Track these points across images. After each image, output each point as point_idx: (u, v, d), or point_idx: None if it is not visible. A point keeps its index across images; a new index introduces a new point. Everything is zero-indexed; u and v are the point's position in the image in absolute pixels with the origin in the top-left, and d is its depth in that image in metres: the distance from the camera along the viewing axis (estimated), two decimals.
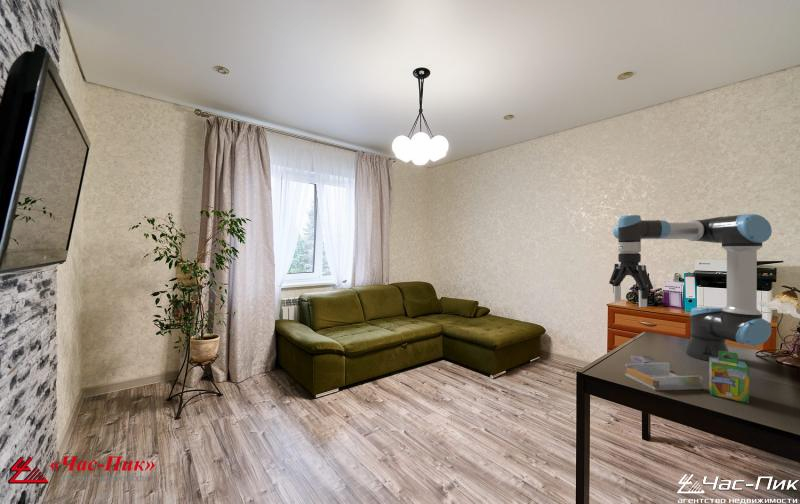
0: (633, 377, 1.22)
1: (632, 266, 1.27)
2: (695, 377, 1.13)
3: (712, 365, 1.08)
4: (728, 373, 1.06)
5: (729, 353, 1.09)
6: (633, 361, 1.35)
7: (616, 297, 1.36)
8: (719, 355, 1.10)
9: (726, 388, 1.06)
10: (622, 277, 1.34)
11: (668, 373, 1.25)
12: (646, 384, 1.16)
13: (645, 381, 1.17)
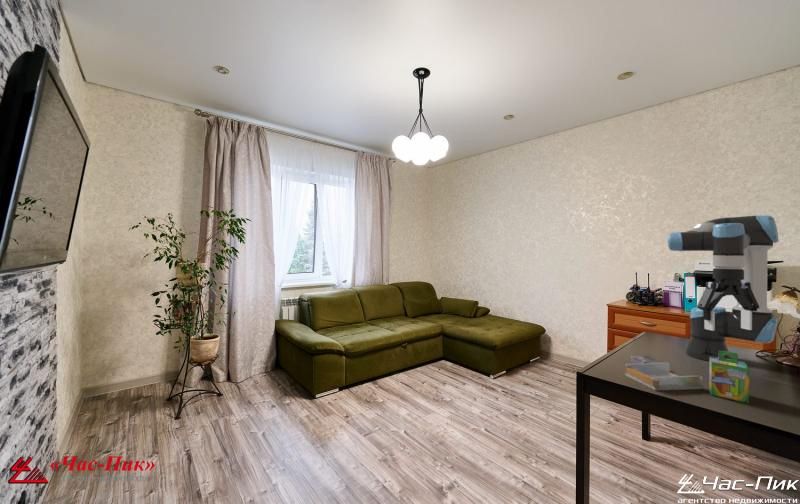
0: (633, 377, 1.22)
1: None
2: (695, 377, 1.13)
3: (712, 365, 1.08)
4: (728, 373, 1.06)
5: (729, 353, 1.09)
6: (632, 361, 1.35)
7: (743, 323, 1.10)
8: (719, 355, 1.10)
9: (726, 388, 1.06)
10: (739, 298, 1.08)
11: (668, 373, 1.25)
12: (646, 384, 1.16)
13: (645, 381, 1.17)
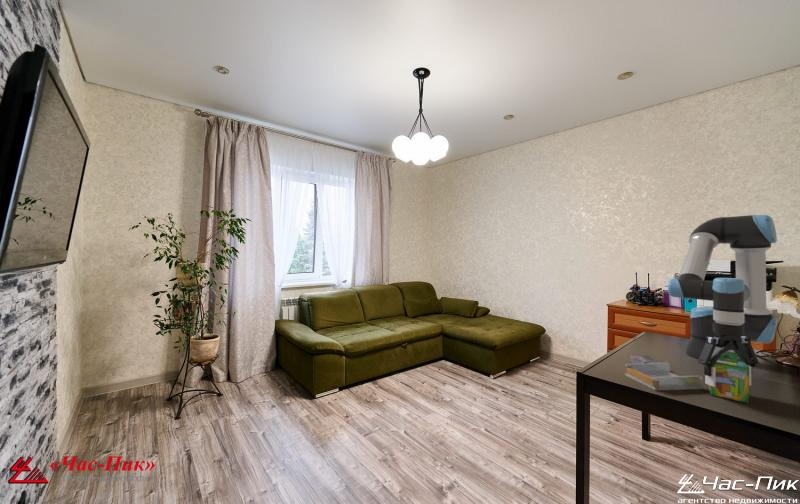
0: (633, 377, 1.22)
1: None
2: (695, 377, 1.13)
3: None
4: (728, 372, 1.06)
5: (729, 353, 1.09)
6: (632, 361, 1.35)
7: None
8: None
9: (725, 387, 1.06)
10: (739, 353, 1.09)
11: (668, 373, 1.25)
12: (646, 384, 1.16)
13: (645, 381, 1.17)
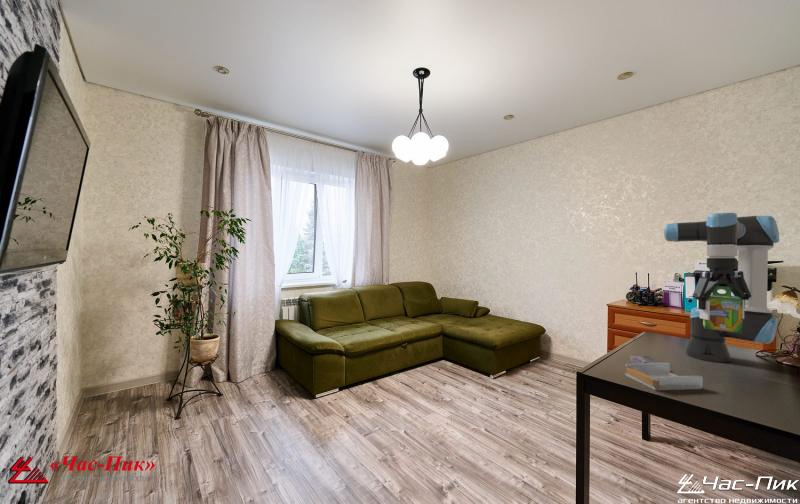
0: (633, 377, 1.22)
1: None
2: (695, 377, 1.13)
3: None
4: (722, 305, 1.07)
5: (723, 287, 1.10)
6: (632, 361, 1.35)
7: None
8: None
9: (719, 320, 1.07)
10: (732, 287, 1.10)
11: (668, 373, 1.25)
12: (646, 384, 1.16)
13: (645, 381, 1.17)
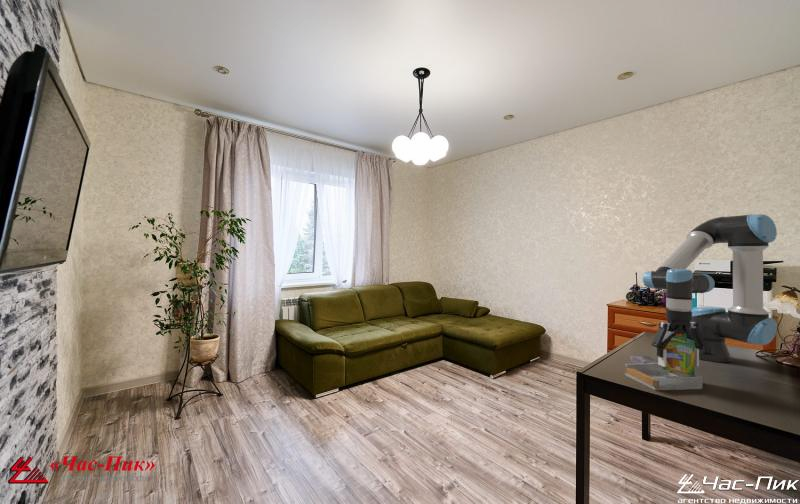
0: (633, 377, 1.22)
1: None
2: (695, 377, 1.13)
3: None
4: (677, 348, 1.17)
5: None
6: (632, 361, 1.35)
7: None
8: None
9: (675, 362, 1.18)
10: (688, 337, 1.20)
11: (668, 373, 1.25)
12: (646, 384, 1.16)
13: (645, 381, 1.17)
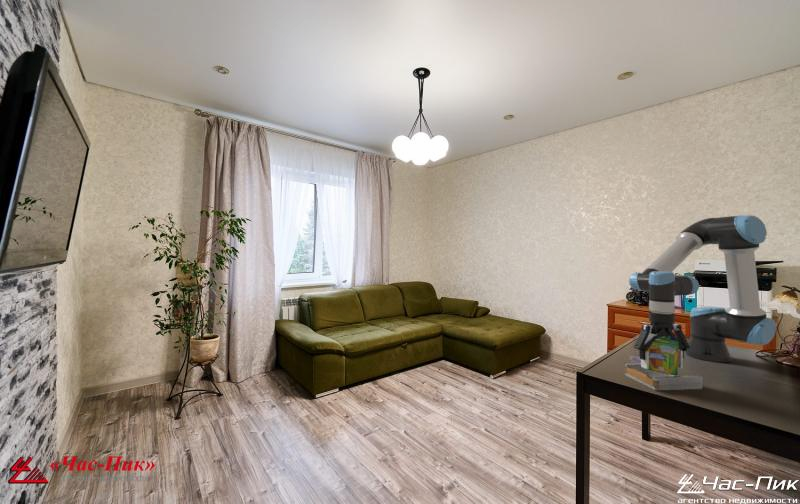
0: (633, 377, 1.22)
1: None
2: (695, 377, 1.13)
3: None
4: (661, 349, 1.17)
5: None
6: (632, 361, 1.35)
7: None
8: None
9: (659, 362, 1.17)
10: (672, 339, 1.20)
11: None
12: (646, 384, 1.16)
13: (645, 381, 1.17)
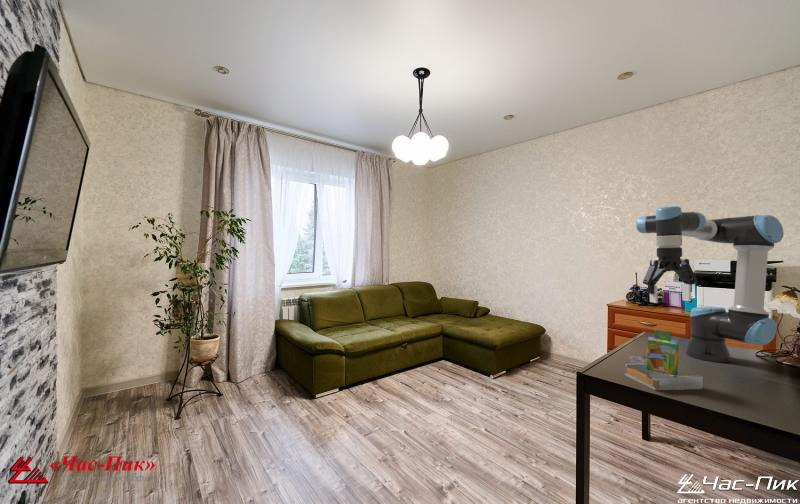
0: (633, 377, 1.22)
1: None
2: (695, 377, 1.13)
3: (648, 342, 1.19)
4: (661, 349, 1.17)
5: (664, 332, 1.20)
6: (631, 361, 1.35)
7: (684, 296, 1.23)
8: (655, 334, 1.22)
9: (659, 362, 1.17)
10: (679, 273, 1.22)
11: None
12: (646, 384, 1.16)
13: (645, 381, 1.17)
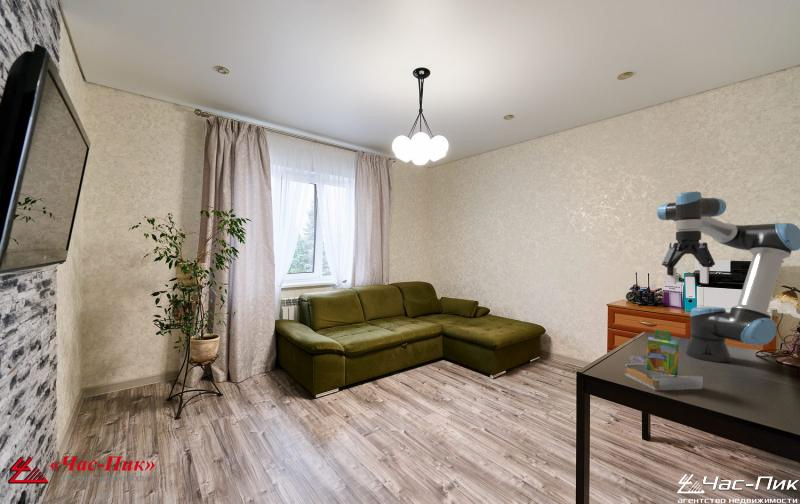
0: (633, 377, 1.22)
1: None
2: (695, 377, 1.13)
3: (648, 342, 1.19)
4: (661, 349, 1.17)
5: (664, 332, 1.20)
6: (631, 361, 1.35)
7: (701, 278, 1.28)
8: (655, 334, 1.22)
9: (659, 362, 1.17)
10: (698, 256, 1.27)
11: None
12: (646, 384, 1.16)
13: (645, 381, 1.17)
